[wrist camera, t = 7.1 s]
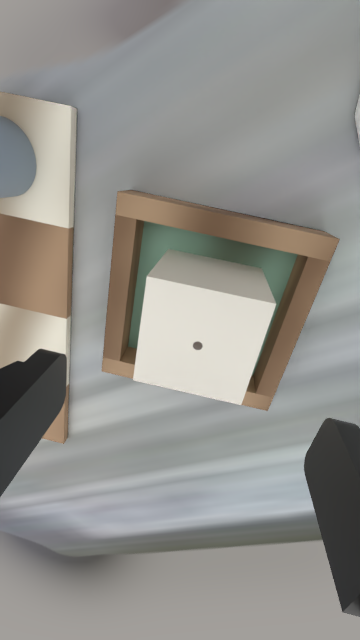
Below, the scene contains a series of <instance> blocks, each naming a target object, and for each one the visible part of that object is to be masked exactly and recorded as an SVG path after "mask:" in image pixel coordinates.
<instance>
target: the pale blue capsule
mask: <svg viewBox="0 0 360 640" xmlns="http://www.w3.org/2000/svg"><path fill="white" fill-rule="evenodd" d="M35 175H36V158H35V154H34V150H33V147H32V145H31V143H30V141H29V139H28V137H27V136H26V134H25V133H24V132H23V130H22V129H21V128H20V127H19V126H18V125H16V124H15V123H14V122H13V121H11V120H10V119H8V118H6V117H3V116H0V198H6V197H15V196H19V195H21V194H23V193H25V192H26V191H27V190H28V189H29V188H30V187H31V185H32V184H33V181H34V179H35Z"/></svg>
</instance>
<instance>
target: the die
mask: <svg viewBox="0 0 360 640" xmlns="http://www.w3.org/2000/svg"><path fill="white" fill-rule="evenodd" d="M275 307H276V302H275V299H274V297H273V295H272V292H271V290H270V287H269V285H268V283H267V280H266V278H265V275H264V273H263V271H262V268H257V267H253V266H248V265H243V264H238V263H233V262H229V261H224V260H219V259H214V258H210V257H205V256H200V255H195V254H191V253H186V252H181V251H176V250H171V249H168V250H167V251H166V253H165V254H164V255H163V256H162V258H161V259H160V260H159V261H158V263H157V264H156V265H155V266H154V268H153V269H152V270H151V272H150V273H149V274H148V275H147V278H146V286H145V293H144V301H143V308H142V316H141V323H140V331H139V338H138V346H137V353H136V361H135V368H134V376H133V380H134V381H138V382H143V383H147V384H151V385H156V386H160V387H164V388H169V389H173V390H177V391H182V392H186V393H190V394H195V395H199V396H204V397H208V398H212V399H217V400H221V401H225V402H230V403H234V404H238V405H241V404H242V401H243V399H244V396H245V393H246V390H247V387H248V384H249V381H250V378H251V376H252V373H253V370H254V367H255V364H256V361H257V358H258V356H259V353H260V350H261V347H262V344H263V341H264V338H265V335H266V333H267V330H268V327H269V324H270V321H271V318H272V315H273V312H274V310H275Z"/></svg>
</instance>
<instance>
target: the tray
mask: <svg viewBox="0 0 360 640" xmlns="http://www.w3.org/2000/svg"><path fill="white" fill-rule="evenodd" d="M339 240H340V239H338V238H336V237H334V236H332V235H330V234H329V233H327V232H325V231H320V230H316V229H311V228H306V227H302V226H297V225H292V224H288V223H283V222H278V221H274V220H269V219H264V218H260V217H255V216H250V215H246V214H241V213H236V212H232V211H227V210H222V209H218V208H213V207H209V206H204V205H199V204H195V203H190V202H185V201H181V200H176V199H171V198H167V197H162V196H157V195H153V194H148V193H143V192H139V191H134V190H126V191H118V192H117V203H116V215H115V226H114V237H113V249H112V260H111V271H110V283H109V294H108V306H107V317H106V328H105V340H104V351H103V362H102V371H103V372H107V373H111V374H115V375H120V376H124V377H128V378H132V379H133V376H134V368H135V361H136V353H137V346H138V338H139V331H140V323H141V316H142V308H143V301H144V293H145V286H146V278H147V275H148V274H149V273H150V272H151V270H152V269H153V268H154V266H155V265H156V264H157V263H158V261H159V260H160V259H161V258H162V256H163V255H164V254H165V253H166V251H167V250H168V249H171V250H176V251H181V252H186V253H191V254H195V255H200V256H205V257H210V258H214V259H219V260H224V261H229V262H233V263H238V264H243V265H248V266H253V267H257V268H262V271H263V273H264V275H265V278H266V280H267V283H268V285H269V287H270V290H271V292H272V295H273V297H274V299H275V302H276V307H275V310H274V312H273V315H272V318H271V321H270V324H269V327H268V330H267V333H266V335H265V338H264V341H263V344H262V347H261V350H260V353H259V356H258V358H257V361H256V364H255V367H254V370H253V373H252V376H251V378H250V381H249V384H248V387H247V390H246V393H245V396H244V399H243V401H242V404H241V405H245V406H249V407H253V408H258V409H262V410H266V411H268V409H269V406H270V404H271V402H272V399H273V397H274V395H275V392H276V390H277V387H278V385H279V383H280V380H281V378H282V375H283V373H284V371H285V368H286V366H287V364H288V361H289V359H290V356H291V354H292V352H293V349H294V347H295V344H296V342H297V340H298V337H299V335H300V333H301V330H302V328H303V325H304V323H305V321H306V318H307V316H308V314H309V311H310V309H311V306H312V304H313V302H314V299H315V297H316V294H317V292H318V290H319V287H320V285H321V283H322V280H323V278H324V275H325V273H326V271H327V268H328V266H329V263H330V261H331V259H332V256H333V254H334V252H335V249H336V247H337V244H338V242H339Z"/></svg>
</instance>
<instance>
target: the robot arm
mask: <svg viewBox="0 0 360 640" xmlns="http://www.w3.org/2000/svg"><path fill="white" fill-rule="evenodd" d="M66 380H67V357H66V355H65V354H62V353H58V352H53V351H49V350H45V349H38V350H37V351H36V352H35V353H33V354H32V355H31V356H30V357H29V358H28V359H27V360H26V361H25V362H22V361H16V362H13V363H11V364H9V365H7V366H5V367H2V368H0V497H1V495H2V494H3V492H4V491H5V489H6V488H7V487H8V485H9V484H10V482H11V481H12V480H13V478H14V477H15V475H16V474H17V472H18V471H19V470H20V468H21V467H22V465H23V464H24V462H25V461H26V460H27V458H28V457H29V455H30V454H31V453H32V451H33V450H34V448H35V447H36V445H37V444H38V443H39V441H40V440H41V438H42V437H43V435H44V434H45V433H46V431H47V430H48V428H49V427H50V426H51V424H52V423H53V421H54V420H55V418H56V417H57V416H58V414H59V413H60V411H61V409H62V407H63V404H64V401H65V397H66ZM304 471H305V476H306V480H307V484H308V487H309V491H310V495H311V498H312V502H313V506H314V509H315V513H316V517H317V520H318V524H319V528H320V531H321V535H322V538H323V542H324V545H325V549H326V553H327V557H328V560H329V564H330V568H331V571H332V575H333V579H334V582H335V586H336V590H337V593H338V597H339V601H340V604H341V608H342V611H343V612H344V613H347V614H351V615H355V616H359V617H360V428H359V427H358V426H357V425H356V424H352V423H348V422H344V421H340V420H336V419H331V418H327V419H326V420H325V421H324V422H323V424H322V425H321V427H320V429H319V431H318V433H317V435H316V437H315V438H314V440H313V442H312V444H311V446H310V448H309V449H308V451H307V454H306V457H305V462H304Z"/></svg>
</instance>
